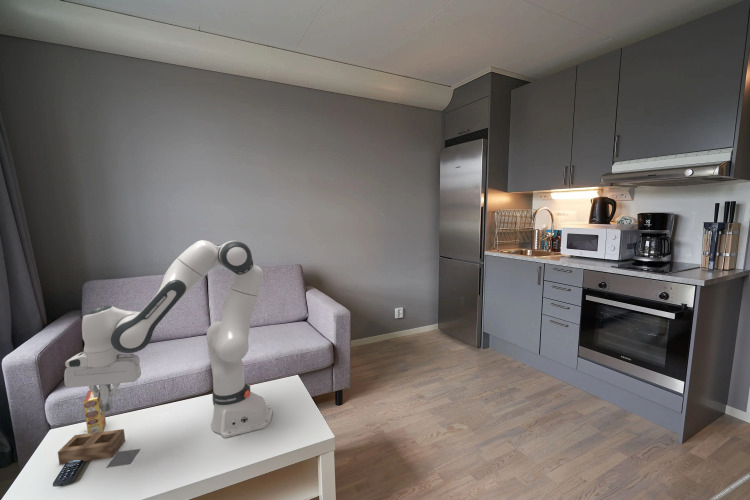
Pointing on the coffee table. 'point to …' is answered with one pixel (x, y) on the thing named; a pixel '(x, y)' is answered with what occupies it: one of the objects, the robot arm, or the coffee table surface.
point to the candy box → (94, 413)
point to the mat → (123, 458)
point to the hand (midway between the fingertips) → (105, 395)
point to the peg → (105, 397)
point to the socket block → (92, 446)
